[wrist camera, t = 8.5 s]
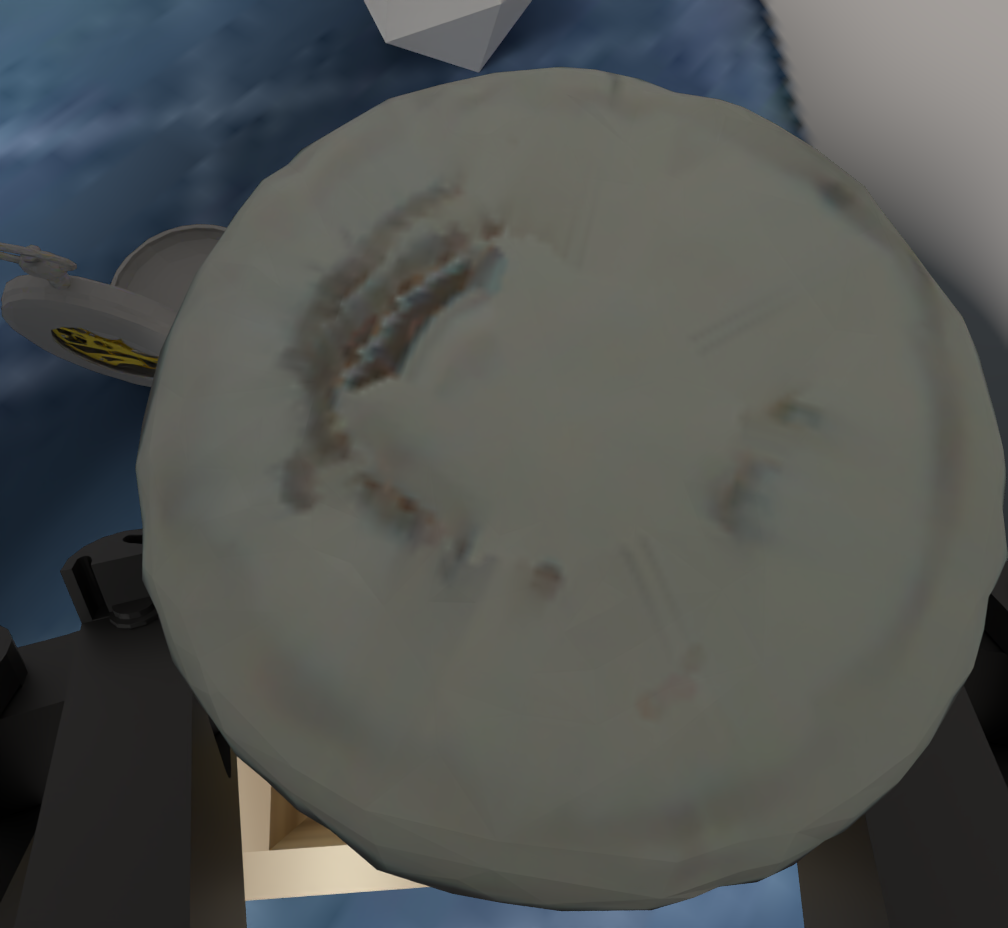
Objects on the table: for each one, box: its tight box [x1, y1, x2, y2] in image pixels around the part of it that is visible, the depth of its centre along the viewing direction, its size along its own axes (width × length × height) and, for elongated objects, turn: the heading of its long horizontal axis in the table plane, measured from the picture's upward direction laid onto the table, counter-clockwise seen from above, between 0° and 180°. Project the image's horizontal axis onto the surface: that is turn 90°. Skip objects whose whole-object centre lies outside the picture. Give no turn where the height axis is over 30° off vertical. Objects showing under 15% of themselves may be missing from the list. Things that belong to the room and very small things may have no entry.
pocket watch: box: [0, 224, 227, 387], centre depth 23 cm, size 8×8×10 cm
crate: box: [237, 757, 429, 901], centre depth 21 cm, size 13×13×7 cm
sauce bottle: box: [135, 67, 1008, 911], centre depth 13 cm, size 7×6×20 cm
